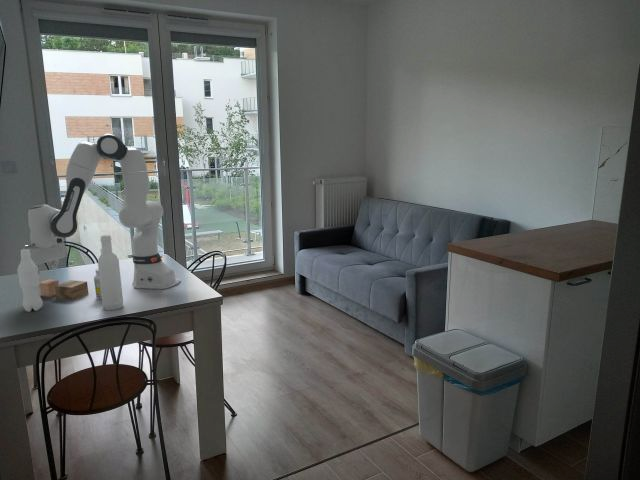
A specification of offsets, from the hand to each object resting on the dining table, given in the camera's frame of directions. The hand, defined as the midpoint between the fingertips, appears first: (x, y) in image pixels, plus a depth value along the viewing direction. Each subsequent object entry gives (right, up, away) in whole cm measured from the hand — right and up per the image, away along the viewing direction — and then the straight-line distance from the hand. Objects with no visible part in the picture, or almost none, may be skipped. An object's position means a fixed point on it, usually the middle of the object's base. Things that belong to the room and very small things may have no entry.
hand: (45, 271), depth 212 cm
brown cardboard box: (+1, -10, +2) cm, 11 cm away
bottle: (+37, -14, -16) cm, 42 cm away
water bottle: (+5, -15, -17) cm, 23 cm away
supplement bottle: (+28, -11, -3) cm, 30 cm away
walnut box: (+12, -11, -1) cm, 17 cm away
